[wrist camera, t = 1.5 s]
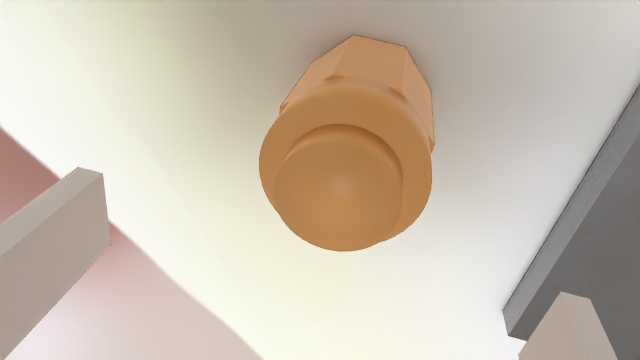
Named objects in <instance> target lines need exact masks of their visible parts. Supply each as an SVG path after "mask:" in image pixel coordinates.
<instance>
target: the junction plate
mask: <svg viewBox="0 0 640 360" xmlns="http://www.w3.org/2000/svg"><path fill="white" fill-rule="evenodd" d="M560 292H565V293H569V294H573V295H577V296H580V297H584V298H588V299H590V300H591V302H592V305H593V307H594V309H595V311H596V313H597V316H598V318H599V320H600V322H601V324H602V326H603V329H604V331H605V333H606V335H607V337H608V340H609V342H610V344H611V346H612V348H613V350H614V353H615V355H616V357H617V359H618V360H640V86H639V87H638V89H637V91H636V92H635V94H634V95H633V97H632V99H631V100H630V102H629V104H628V105H627V107H626V109H625V110H624V112H623V114H622V115H621V117H620V119H619V120H618V122H617V124H616V125H615V127H614V128H613V130H612V132H611V133H610V135H609V137H608V138H607V140H606V142H605V143H604V145H603V147H602V148H601V150H600V152H599V153H598V155H597V156H596V158H595V160H594V161H593V163H592V165H591V166H590V168H589V170H588V171H587V173H586V175H585V176H584V178H583V180H582V181H581V183H580V184H579V186H578V188H577V189H576V191H575V193H574V194H573V196H572V198H571V199H570V201H569V203H568V204H567V206H566V208H565V209H564V211H563V212H562V214H561V216H560V217H559V219H558V221H557V222H556V224H555V226H554V227H553V229H552V231H551V232H550V234H549V236H548V237H547V239H546V241H545V242H544V244H543V245H542V247H541V249H540V250H539V252H538V254H537V255H536V257H535V259H534V260H533V262H532V264H531V265H530V267H529V269H528V270H527V272H526V273H525V275H524V277H523V278H522V280H521V282H520V283H519V285H518V287H517V288H516V290H515V292H514V293H513V295H512V297H511V298H510V300H509V301H508V303H507V305H506V306H505V308H504V310H503V314H504V319H505V324H506V329H507V334H508V336H510V337H514V338H518V339H521V340H525V341H528V339H529V338H530V337H531V335H532V334H533V332H534V331H535V329H536V328H537V326H538V325H539V323H540V322H541V320H542V319H543V317H544V316H545V314H546V313H547V311H548V310H549V308H550V307H551V305H552V304H553V302H554V301H555V300H556V298H557V297H558V295H559V294H560Z"/></svg>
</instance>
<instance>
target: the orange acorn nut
mask: <svg viewBox="0 0 640 360" xmlns="http://www.w3.org/2000/svg"><path fill="white" fill-rule="evenodd" d="M434 145H435V141H434V126H433V111H432V95H431V90H430V88H429V86H428V84H427V83H426V81H425V79H424V78H423V76H422V74H421V72H420V71H419V69H418V67H417V66H416V64H415V62H414V60H413V59H412V57H411V55H410V54H409V52H408V50H407V48H406V47H405V46H400V45H396V44H391V43H387V42H383V41H378V40H374V39H369V38H365V37H361V36H356V35H353V36H351V37H350V38H348V39H347V40H345V41H344V42H342V43H341V44H339V45H338V46H336V47H335V48H333V49H332V50H330V51H329V52H327V53H326V54H324V55H323V56H321V57H320V58H318V59H317V60H315V61H314V62H312V63H311V64H310V66H309V67H308V68H307V70H306V71H305V73H304V74H303V75H302V77H301V78H300V80H299V81H298V82H297V84H296V85H295V87H294V88H293V89H292V91H291V92H290V94H289V95H288V97H287V98H286V99H285V101H284V102H283V104H282V105H281V106H280V113H279V117H278V118H277V120H276V121H275V122H274V124H273V125H272V127H271V128H270V130H269V131H268V133H267V135H266V137H265V139H264V142H263V145H262V147H261V152H260V157H259V171H260V178H261V182H262V186H263V188H264V191H265V193H266V196H267V197H268V199H269V201H270V203H271V204H272V206H273V207H274V208H275V210H276V211H277V212H278V213H279V215H280V216H281V218H282V220H283V221H284V222H285V224H286V225H287V226H288V227H289V228H290V229H291V230H292V231H293V232H294V233H295V234H296V235H297V236H299V237H300V238H302V239H303V240H305V241H307V242H308V243H310V244H313V245H315V246H317V247H320V248H324V249H328V250H333V251H356V250H361V249H365V248H368V247H371V246H373V245H375V244H377V243H379V242H382V241H385V240H388V239H390V238H392V237H394V236H396V235H398V234H399V233H401V232H403V231H404V230H405V229H407V228H408V227H409V226H410V225H411V224H412V223H413V222H414V221H415V220H416V219H417V218H418V217H419V215H420V214H421V212H422V211H423V209H424V207H425V205H426V203H427V201H428V198H429V195H430V191H431V184H432V168H431V153H432V150H433V147H434Z"/></svg>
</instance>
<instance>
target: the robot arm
mask: <svg viewBox="0 0 640 360" xmlns="http://www.w3.org/2000/svg"><path fill="white" fill-rule="evenodd" d="M110 246H111V240H110V232H109V223H108V215H107V206H106V198H105V189H104V181H103V173H99V172H95V171H92V170H88V169H84V168H80V167H77V168H76V169H74V170H73V171H72V172H70V173H69V174H68V175H66V176H65V177H64V178H62V179H61V180H60V181H58V182H57V183H55V184H54V185H53V186H51V187H50V188H49V189H47V190H46V191H45V192H43V193H42V194H40V195H39V196H38V197H37V198H35V199H34V200H32V201H31V202H30V203H28V204H27V205H25V206H24V207H23V208H21V209H20V210H19V211H17V212H16V213H15V214H13V215H12V216H10V217H9V218H8V219H6V220H5V221H4V222H3V223H1V224H0V360H4V359H5V358H6V357H7V356H8V355H9V354H10V353H11V352H12V350H13V349H14V348H15V347H16V346H17V345H18V344H19V343H20V342H21V341H22V340H23V339H24V338H25V337H26V335H27V334H28V333H29V332H30V331H31V330H32V329H33V328H34V327H35V326H36V325H37V324H38V323H39V322H40V321H41V319H42V318H43V317H44V316H45V315H46V314H47V313H48V312H49V311H50V310H51V309H52V308H53V307H54V306H55V304H56V303H57V302H58V301H59V300H60V299H61V298H62V297H63V296H64V295H65V294H66V293H67V291H69V289H70V288H71V287H72V286H73V285H74V284H75V283H76V282H77V281H78V280H79V279H80V278H81V277H82V276H83V274H84V273H85V272H86V271H87V270H88V269H89V268H90V267H91V266H92V265H93V264H94V263H95V262H96V261H97V259H98V258H99V257H100V256H101V255H102V254H103V253H104V252H105V251H106V250H107V249H108V248H109V247H110ZM518 356H519V360H618V359H617V357H616V355H615V353H614V350H613V348H612V346H611V344H610V342H609V340H608V337H607V335H606V333H605V331H604V329H603V326H602V324H601V322H600V320H599V318H598V316H597V313H596V311H595V309H594V307H593V305H592V302H591V300H590V299H588V298H584V297H580V296H577V295H573V294H569V293H565V292H560V294H559V295H558V297H557V298H556V300H555V301H554V302H553V304H552V305H551V307H550V308H549V310H548V311H547V313H546V314H545V316H544V317H543V319H542V320H541V322H540V323H539V325H538V326H537V328H536V329H535V331H534V332H533V334H532V335H531V337H530V338H529V339H528V341H527V342H526V344H525V345H524V347H523V348H522V350H521V351H520V353H519V354H518Z"/></svg>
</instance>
